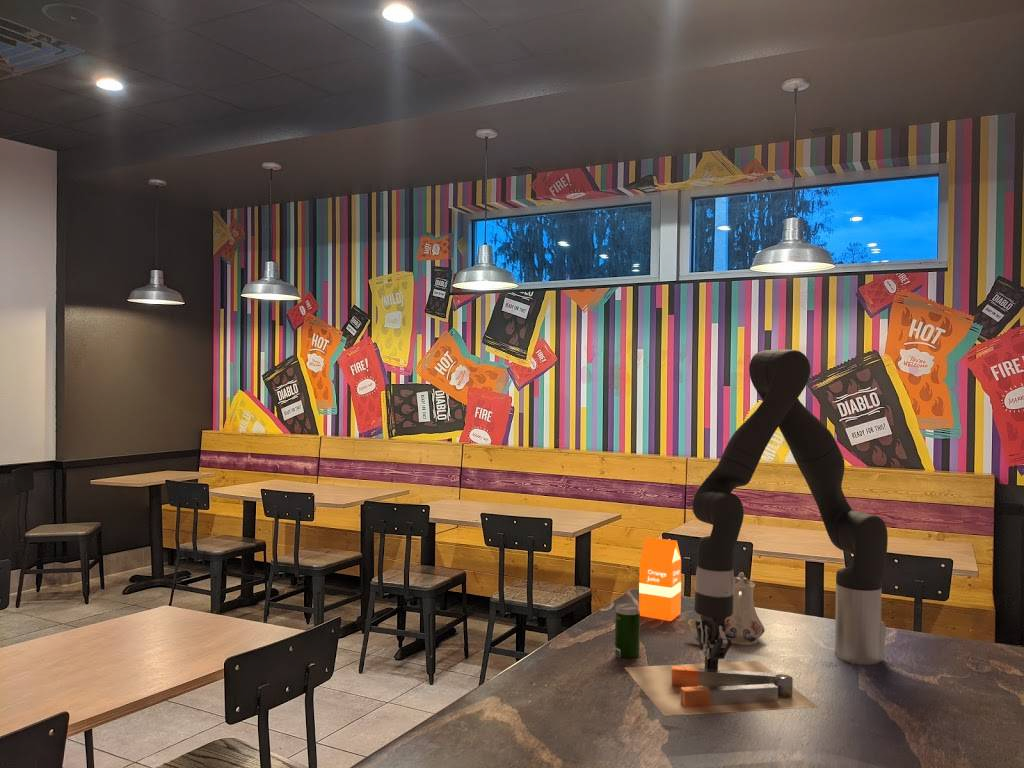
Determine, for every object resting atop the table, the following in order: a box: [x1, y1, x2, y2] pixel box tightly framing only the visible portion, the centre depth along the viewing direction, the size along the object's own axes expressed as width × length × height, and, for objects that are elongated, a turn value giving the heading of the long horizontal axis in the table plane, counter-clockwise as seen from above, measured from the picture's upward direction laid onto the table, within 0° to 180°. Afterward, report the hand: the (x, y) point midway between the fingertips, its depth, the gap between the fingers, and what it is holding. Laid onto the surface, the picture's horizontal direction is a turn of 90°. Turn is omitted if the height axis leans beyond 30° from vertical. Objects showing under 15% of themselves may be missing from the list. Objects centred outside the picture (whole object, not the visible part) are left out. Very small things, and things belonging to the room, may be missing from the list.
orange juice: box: [638, 536, 682, 622], centre depth 209 cm, size 8×9×20 cm
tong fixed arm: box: [681, 684, 778, 708], centre depth 149 cm, size 18×2×3 cm, turn 99°
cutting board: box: [623, 660, 819, 717], centre depth 158 cm, size 30×24×2 cm
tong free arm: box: [672, 666, 794, 697], centre depth 155 cm, size 23×4×3 cm, turn 81°
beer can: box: [614, 603, 641, 660], centre depth 175 cm, size 5×5×12 cm
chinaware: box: [688, 571, 766, 646], centre depth 192 cm, size 28×17×17 cm, turn 162°
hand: (710, 675), depth 159 cm, fingers closed
